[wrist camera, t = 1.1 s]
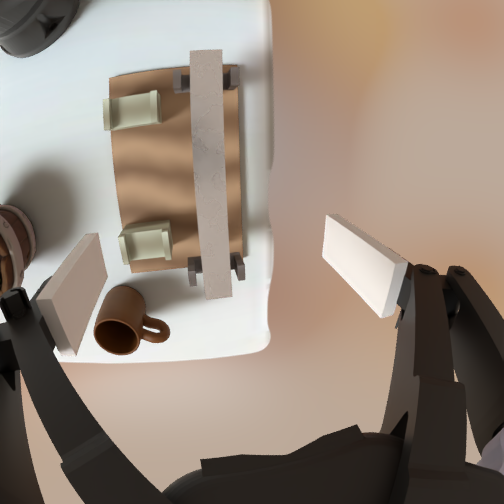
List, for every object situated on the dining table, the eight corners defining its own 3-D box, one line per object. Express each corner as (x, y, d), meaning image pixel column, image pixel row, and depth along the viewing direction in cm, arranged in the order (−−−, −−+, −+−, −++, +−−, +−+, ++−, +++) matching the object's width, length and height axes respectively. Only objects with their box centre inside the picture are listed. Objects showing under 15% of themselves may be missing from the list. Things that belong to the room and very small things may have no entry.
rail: (189, 58, 25) (189, 50, 22) (218, 57, 25) (222, 49, 22) (204, 286, 36) (206, 299, 33) (228, 283, 37) (232, 296, 34)
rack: (111, 79, 30) (82, 61, 19) (236, 66, 33) (254, 42, 23) (132, 270, 43) (118, 314, 32) (241, 258, 46) (259, 298, 35)
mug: (172, 288, 45) (170, 323, 37) (170, 324, 48) (169, 360, 40) (103, 281, 42) (89, 314, 34) (106, 317, 45) (96, 353, 37)
